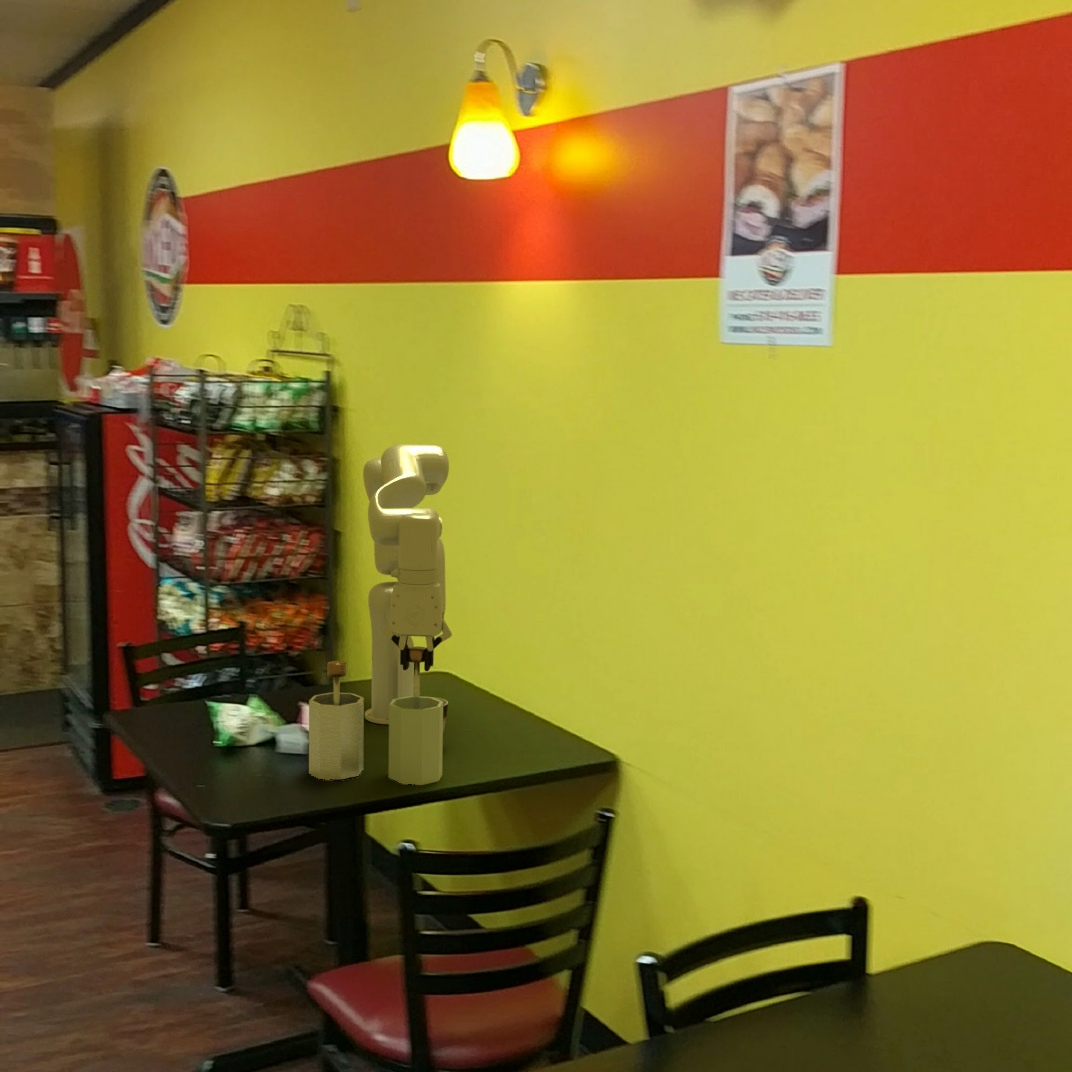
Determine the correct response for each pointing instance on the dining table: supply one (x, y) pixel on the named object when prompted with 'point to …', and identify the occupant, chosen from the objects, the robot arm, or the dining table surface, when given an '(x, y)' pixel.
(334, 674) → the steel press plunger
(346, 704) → the beige tall hollow piece
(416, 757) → the cup
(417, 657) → the sage plunger
